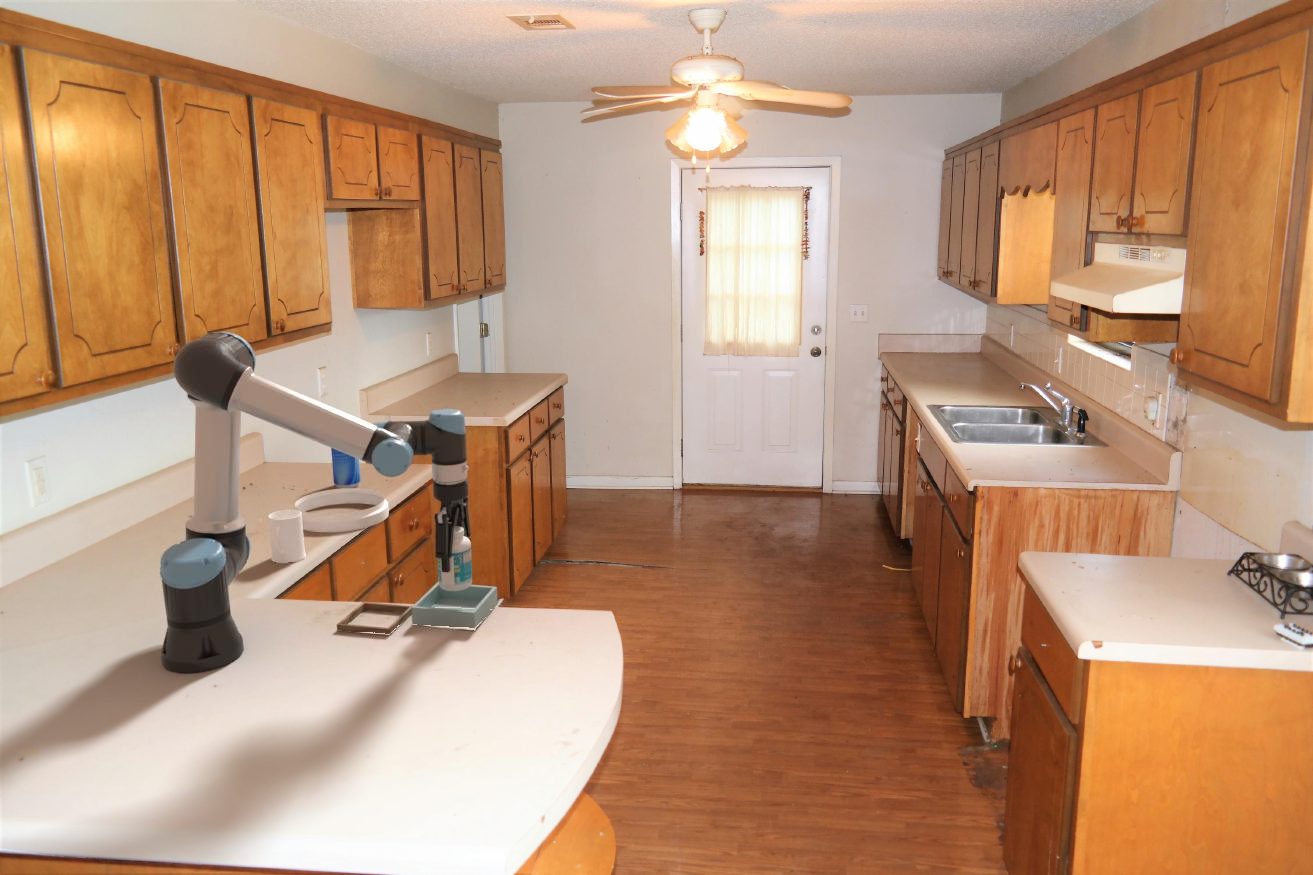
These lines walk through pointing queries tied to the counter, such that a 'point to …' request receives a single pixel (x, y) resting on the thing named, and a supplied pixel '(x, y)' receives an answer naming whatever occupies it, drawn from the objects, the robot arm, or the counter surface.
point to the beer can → (345, 470)
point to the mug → (286, 536)
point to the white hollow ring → (344, 519)
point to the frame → (405, 610)
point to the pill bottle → (459, 562)
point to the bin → (455, 617)
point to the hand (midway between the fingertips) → (455, 577)
